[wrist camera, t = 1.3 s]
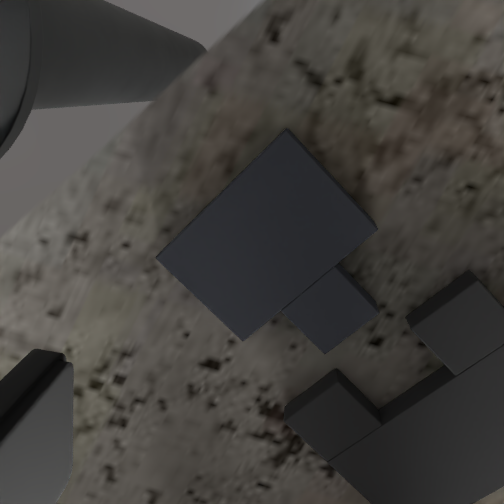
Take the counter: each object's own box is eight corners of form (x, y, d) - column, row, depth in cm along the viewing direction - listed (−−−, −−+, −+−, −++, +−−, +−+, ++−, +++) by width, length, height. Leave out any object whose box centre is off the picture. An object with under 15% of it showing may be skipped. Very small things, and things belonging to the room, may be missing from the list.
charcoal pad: (162, 249, 28) (154, 258, 26) (287, 127, 25) (285, 129, 23) (287, 370, 29) (286, 384, 28) (418, 269, 26) (424, 279, 25)
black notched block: (284, 405, 30) (282, 421, 29) (469, 269, 26) (478, 279, 25) (405, 519, 32) (409, 539, 31) (595, 409, 28) (611, 426, 26)
